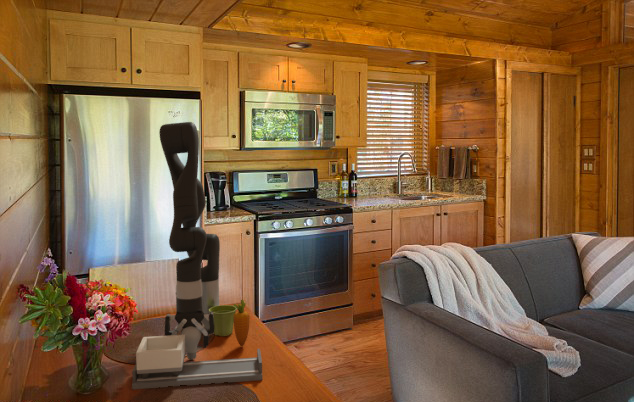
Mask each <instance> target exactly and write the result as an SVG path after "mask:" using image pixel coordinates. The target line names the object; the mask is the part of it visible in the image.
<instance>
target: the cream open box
mask: <svg viewBox="0 0 634 402" xmlns="http://www.w3.org/2000/svg"><path fill="white" fill-rule="evenodd" d="M136 350H137V351H136V352H135V354H136V356H135V357H136V359H135V360H136V361H135V362H137V374H141V378H143V379H146V378H148V376H149V373H159V372H172V375H173V376H174V377H177V376H178V375H179V373H180V371H182V367H183V363H184V362H185V359H186V358H185V357H186V347H185V335H181V334H177V335H169V336H165V335H157V336H156V335H155V336H143V337H142V339H141V342H140V344H139V345H138V348H137V349H136Z"/></svg>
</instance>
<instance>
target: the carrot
mask: <svg viewBox="0 0 634 402" xmlns="http://www.w3.org/2000/svg"><path fill="white" fill-rule="evenodd" d="M246 304H247V303H246V302H245V300H244V299H240V303H238V304H235V303H234V304H233V305H232V306H235V307H236V308H237V311H236V312H235V314H234V323H233V331H234V334H235V338H236V341H237V343H238V345H239V346H240V347H241V348H242V347H244V345H245V343H246V341H247V339H248V336H249V329H250V314H249V313H248V312H247V311H246V310H244V309H245V307H246Z"/></svg>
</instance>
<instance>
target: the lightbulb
mask: <svg viewBox="0 0 634 402" xmlns="http://www.w3.org/2000/svg"><path fill="white" fill-rule="evenodd" d="M202 334H203V333H202V332H201V331H200V330H199V329H198V328H197V327H187V328H185V329H183V328H181V330H180V335H185V353H186V356H187V359H188V360H189V361H193V360H194V359H196V358H197V351H198V345H199V342H200V341H201V338H202Z"/></svg>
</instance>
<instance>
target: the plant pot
mask: <svg viewBox="0 0 634 402" xmlns="http://www.w3.org/2000/svg"><path fill="white" fill-rule="evenodd" d="M237 311H238V309H237V308H236V307H235V306H233V305H231V304H219V305H218V306H214V307H211V308H210V309H209V312H213V316H214V328H215V329H214V333H213V334H214V335H215V336H219V337H226V336H227V337H228V336H230V335H231V334H233V331H234V314H235V313H236V312H237Z"/></svg>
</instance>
